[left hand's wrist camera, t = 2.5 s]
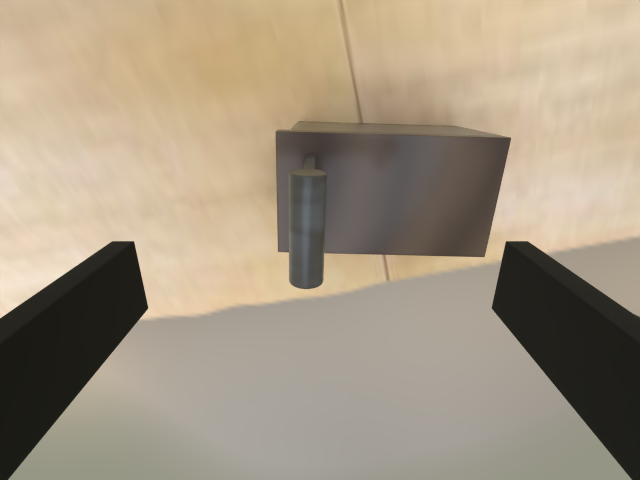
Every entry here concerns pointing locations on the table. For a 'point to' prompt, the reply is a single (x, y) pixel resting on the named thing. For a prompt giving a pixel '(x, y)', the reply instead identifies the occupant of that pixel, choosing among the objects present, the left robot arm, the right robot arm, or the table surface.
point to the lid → (384, 195)
